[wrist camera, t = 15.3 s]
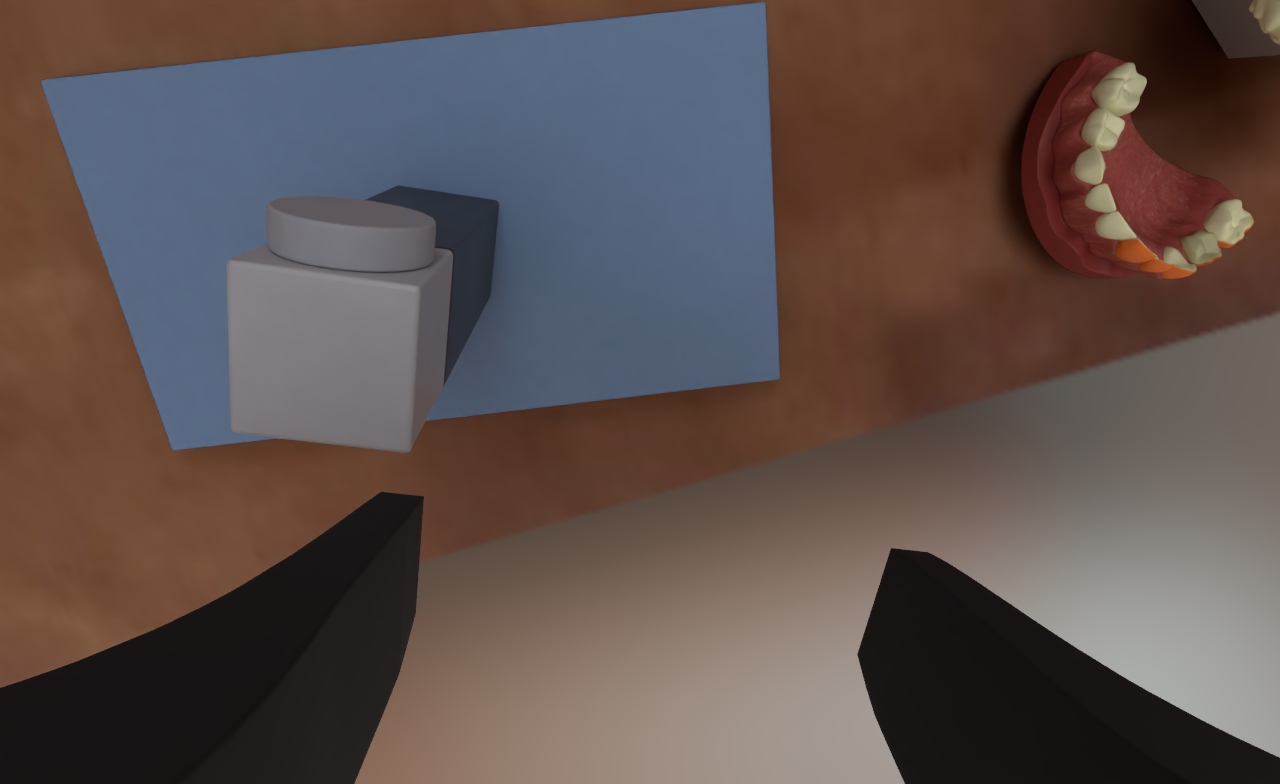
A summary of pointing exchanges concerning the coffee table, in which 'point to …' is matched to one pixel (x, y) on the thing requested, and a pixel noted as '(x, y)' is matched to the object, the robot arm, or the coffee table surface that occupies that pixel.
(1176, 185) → the dentures
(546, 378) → the rubber mat
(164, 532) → the coffee table surface
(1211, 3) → the icon cube
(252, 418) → the grey toy brick
